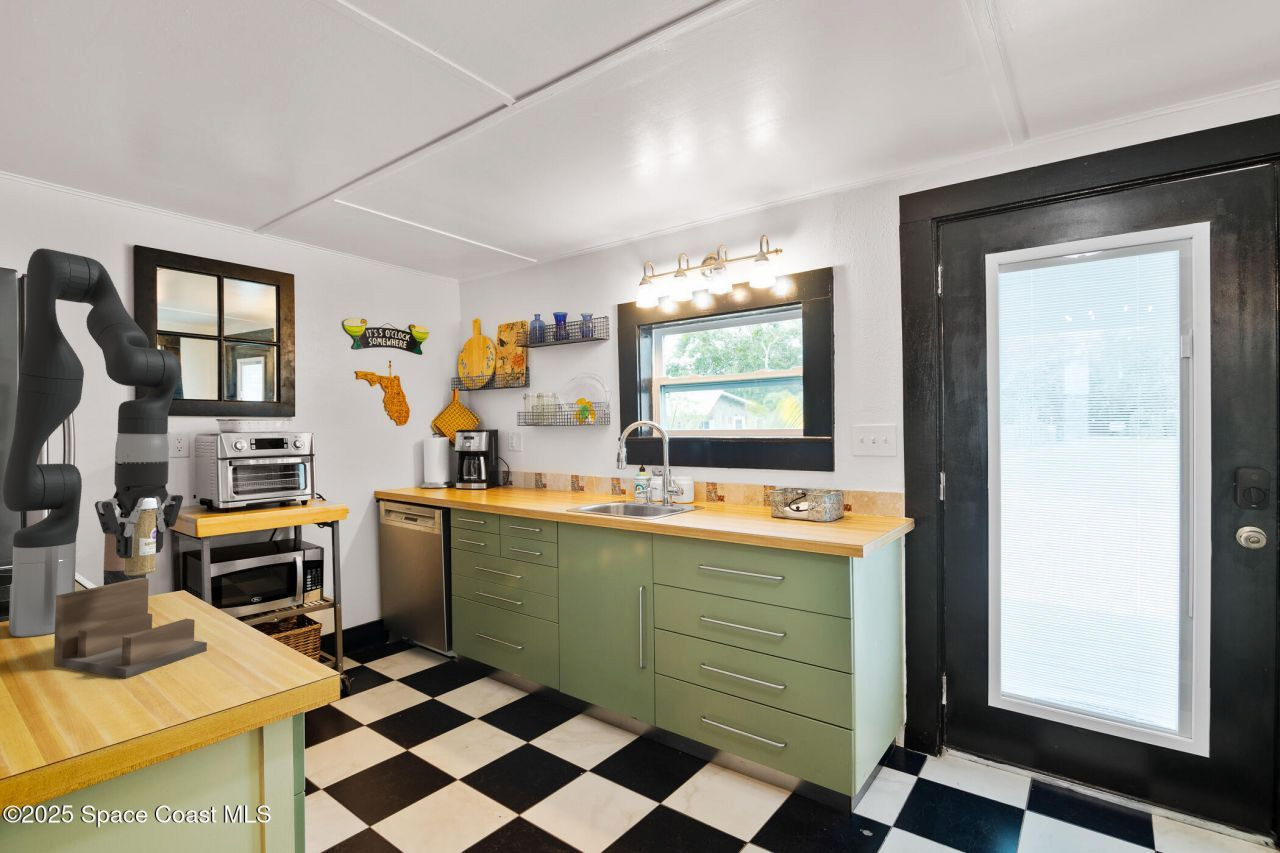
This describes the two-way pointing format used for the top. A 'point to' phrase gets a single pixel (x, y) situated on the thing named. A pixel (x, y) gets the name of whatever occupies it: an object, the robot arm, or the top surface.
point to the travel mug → (114, 563)
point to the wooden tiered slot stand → (117, 632)
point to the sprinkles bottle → (143, 541)
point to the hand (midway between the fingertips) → (139, 554)
